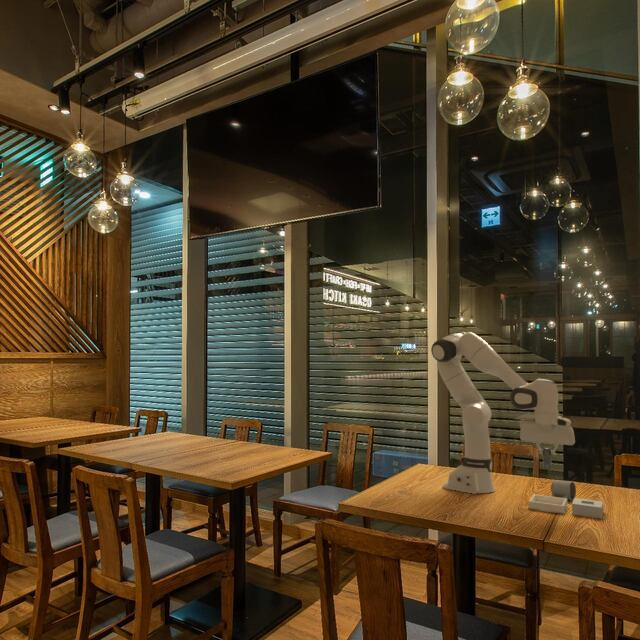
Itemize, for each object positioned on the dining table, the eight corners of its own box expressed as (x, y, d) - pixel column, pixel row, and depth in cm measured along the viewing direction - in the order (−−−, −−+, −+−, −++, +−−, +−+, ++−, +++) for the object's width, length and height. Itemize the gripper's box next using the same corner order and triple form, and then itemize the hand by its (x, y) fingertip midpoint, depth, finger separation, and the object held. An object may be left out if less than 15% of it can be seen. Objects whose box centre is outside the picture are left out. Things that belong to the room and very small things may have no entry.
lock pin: (542, 468, 206) (542, 448, 207) (543, 467, 209) (543, 447, 210) (550, 469, 205) (550, 449, 205) (551, 468, 207) (551, 448, 208)
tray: (528, 508, 203) (528, 501, 204) (533, 501, 214) (533, 494, 214) (564, 514, 197) (563, 506, 197) (567, 506, 208) (567, 498, 208)
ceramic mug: (556, 495, 225) (556, 477, 226) (576, 498, 219) (576, 480, 220) (547, 500, 218) (546, 481, 218) (567, 504, 212) (566, 484, 212)
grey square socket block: (572, 514, 197) (571, 503, 197) (574, 508, 205) (574, 497, 206) (602, 518, 192) (601, 507, 192) (603, 512, 200) (603, 501, 200)
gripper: (517, 418, 211) (518, 452, 210) (573, 422, 201) (574, 458, 199) (520, 416, 216) (521, 450, 215) (575, 420, 206) (575, 455, 205)
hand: (547, 454), depth 207 cm, fingers closed on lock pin, 3 cm apart
